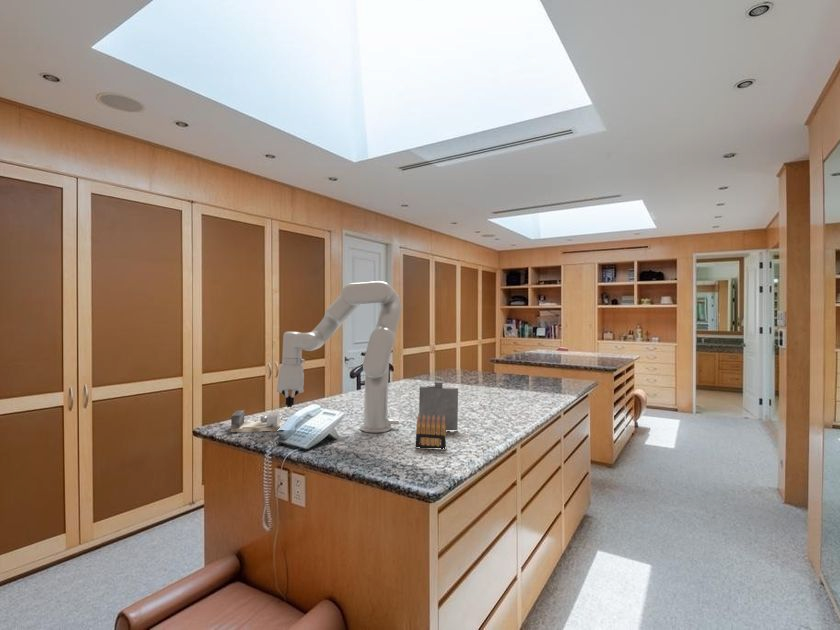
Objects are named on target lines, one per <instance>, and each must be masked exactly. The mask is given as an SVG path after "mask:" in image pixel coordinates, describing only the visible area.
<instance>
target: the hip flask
mask: <svg viewBox="0 0 840 630" xmlns="http://www.w3.org/2000/svg"><path fill="white" fill-rule="evenodd" d="M433 384H434V385H427V386H426V385H424V386H422V385H421V386H419V398H418V401H419V402H418V403H419V405H418V414H420V419H421V426H422V417H423V414H424V415H425V424H426V425H427V417H428V414H429V416H430V425H432V417H433V415H434V416H435V426H436V425H437V417H438V415H439V416H440V426H442V418H443V415H444V416H445V426H446V430H457V431H458V425H459V424H458V419H459V418H458V417H459V415H458V414H459V412H458V411H459V409H458V408H459V387H445V386H444V387H443V385H444V381H434V383H433Z"/></svg>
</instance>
